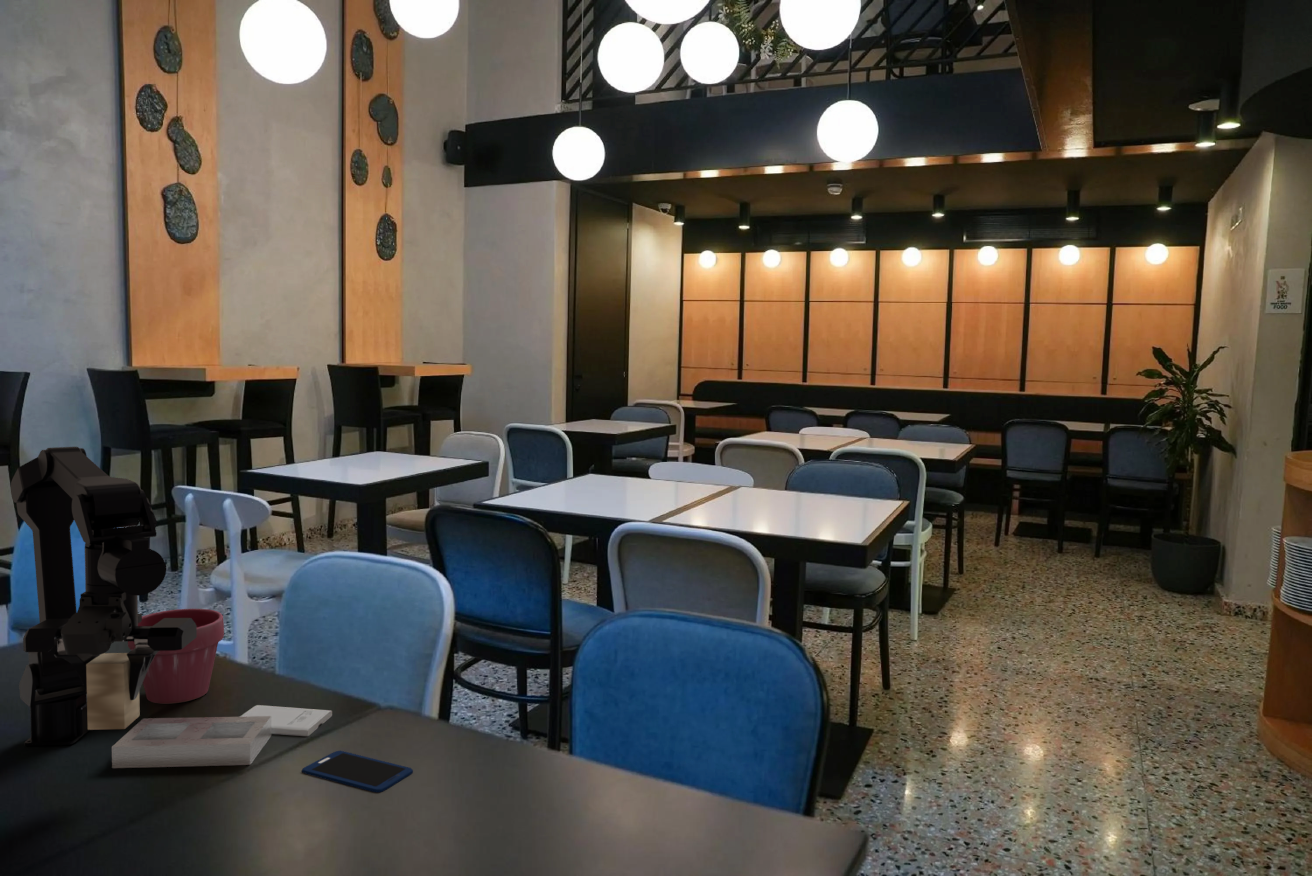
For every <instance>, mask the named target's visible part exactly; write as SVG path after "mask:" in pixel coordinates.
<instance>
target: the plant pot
mask: <svg viewBox="0 0 1312 876" xmlns="http://www.w3.org/2000/svg"><path fill="white" fill-rule="evenodd" d="M164 618H191V619H192V620H193V621H194V622H195V624H196V626H197V637H196V638H195V639H194V640H193V641H191V642H190V643H189V644H188V645H186V646H185V647H184V648H183V649H180V650H176V651H159V652H157V653H156V655H155V657H154V659H153V660H152V662H151V664H150V666H149V669H148V671H147V673H146V676H145V678H144V681H143V683H142V685H143V689H144V692H145V697H146V699H147V700H148V701H149V702H151V703H154V704H163V705H164V704H167V705H168V704H171V705H172V704H179V703H185V702H189V701H193V700H195V699H199V698H201V697H203V696H205V694H207V693H208V691H209V689H210V688H209V687H210V685H211V684H210V683H211V678H212V673H213V669H214V665H215V659H216V655H217V650H218V645H219V642H221V641H222V640H223V639H224V637H225V625H224V624H225V623H224V616H223V614H222V613H221V612H219V611H217V610H213V609H206V608H179V609H169V610H164V611H158V612H153V613H149V614H145V615H142V621H141V622H140V623H138V626H153V625H155V624H156V623H158V622H159V621H161V620H162V619H164ZM127 648H128V649H129V650H130V651H132V650H133V649H134V648H135V641H127Z"/></svg>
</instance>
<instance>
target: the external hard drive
mask: <svg viewBox="0 0 1312 876" xmlns="http://www.w3.org/2000/svg"><path fill="white" fill-rule="evenodd" d="M249 716H271V735H282V736H283V735H286V736H300V737H309V736H310V735H311V734H313V733H314V732H315V731H316V730H317V729H318V728H319V727H320V726H321V725H324V723H325V722H327V721H328V720H329V719H330V718H331V717H333V710H328V709H313V708H302V707H301V708H300V707H290V706H286V707H285V706H278V705H277V706H275V705H273V706H272V705H262V704H261V705H260V704H256V705H254V706H252V708H250V709H249V710H247V711H245V712H243V714H242V715H240V716H239V717H249Z"/></svg>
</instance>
